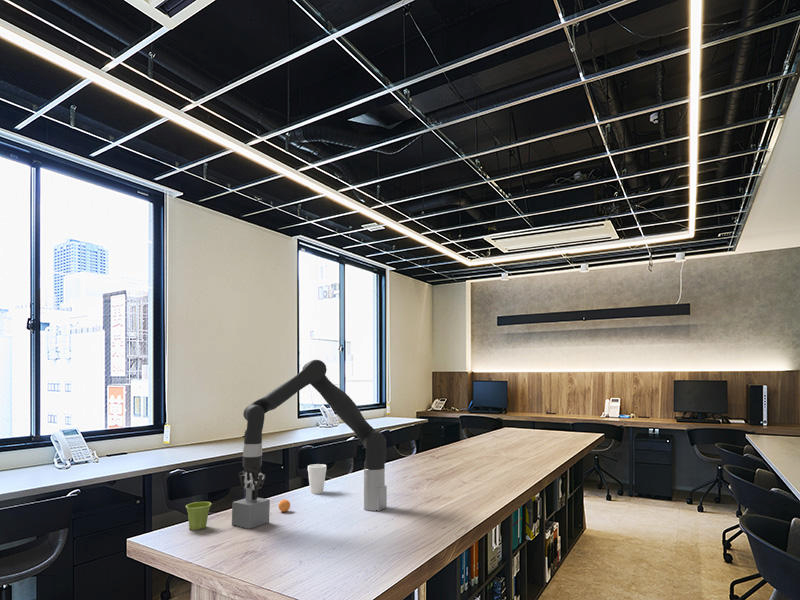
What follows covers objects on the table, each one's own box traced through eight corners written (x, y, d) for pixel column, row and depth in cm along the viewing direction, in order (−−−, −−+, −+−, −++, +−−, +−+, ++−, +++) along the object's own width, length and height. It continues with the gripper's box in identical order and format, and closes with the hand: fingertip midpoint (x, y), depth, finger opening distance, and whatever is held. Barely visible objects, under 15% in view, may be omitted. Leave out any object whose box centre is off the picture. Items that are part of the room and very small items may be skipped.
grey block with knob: (269, 522, 204) (270, 486, 206) (249, 529, 195) (250, 491, 197) (251, 518, 209) (252, 484, 211) (231, 525, 201) (232, 488, 202)
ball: (292, 511, 220) (292, 499, 221) (284, 513, 216) (284, 501, 217) (284, 509, 223) (284, 497, 224) (275, 512, 219) (276, 500, 219)
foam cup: (322, 495, 248) (322, 467, 250) (304, 494, 250) (304, 467, 252) (328, 490, 258) (328, 464, 260) (311, 490, 259) (311, 463, 261)
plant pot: (206, 531, 193) (207, 507, 195) (181, 532, 193) (182, 508, 194) (213, 523, 203) (214, 501, 204) (189, 524, 202) (190, 502, 203)
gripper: (271, 454, 205) (270, 499, 203) (247, 452, 213) (246, 494, 210) (257, 457, 199) (256, 503, 197) (233, 454, 206) (231, 498, 204)
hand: (251, 498), depth 204 cm, fingers closed on grey block with knob, 3 cm apart
